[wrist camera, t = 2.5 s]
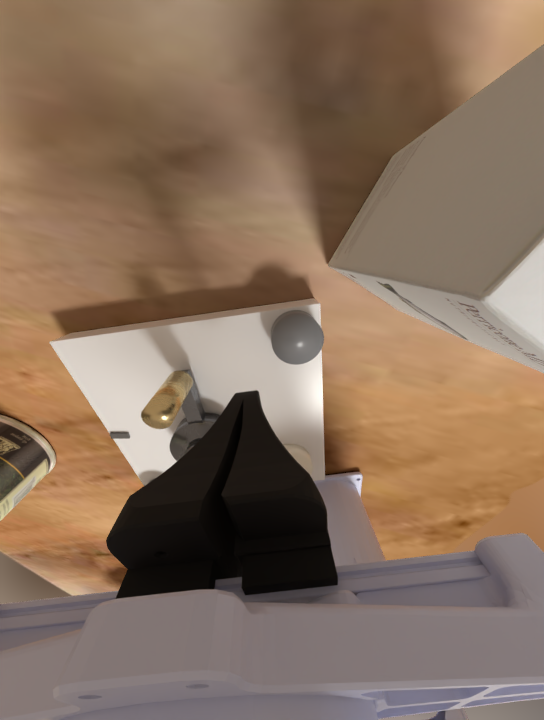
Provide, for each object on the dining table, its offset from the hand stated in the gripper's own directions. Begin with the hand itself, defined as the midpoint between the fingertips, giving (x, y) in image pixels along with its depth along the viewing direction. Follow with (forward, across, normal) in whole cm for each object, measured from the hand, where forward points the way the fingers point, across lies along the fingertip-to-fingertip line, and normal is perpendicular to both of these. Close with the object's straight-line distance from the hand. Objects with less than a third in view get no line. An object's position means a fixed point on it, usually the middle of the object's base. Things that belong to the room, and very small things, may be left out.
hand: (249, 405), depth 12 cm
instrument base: (+7, +4, +6) cm, 11 cm away
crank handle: (+5, +6, +5) cm, 9 cm away
